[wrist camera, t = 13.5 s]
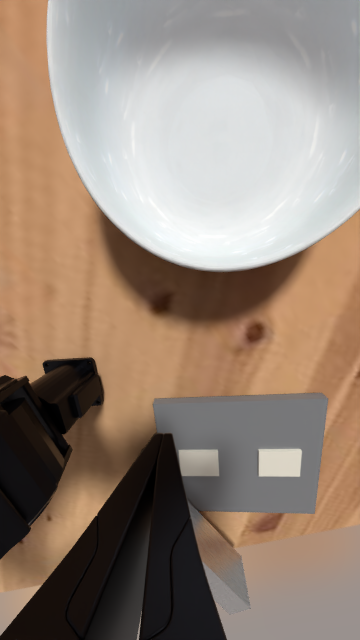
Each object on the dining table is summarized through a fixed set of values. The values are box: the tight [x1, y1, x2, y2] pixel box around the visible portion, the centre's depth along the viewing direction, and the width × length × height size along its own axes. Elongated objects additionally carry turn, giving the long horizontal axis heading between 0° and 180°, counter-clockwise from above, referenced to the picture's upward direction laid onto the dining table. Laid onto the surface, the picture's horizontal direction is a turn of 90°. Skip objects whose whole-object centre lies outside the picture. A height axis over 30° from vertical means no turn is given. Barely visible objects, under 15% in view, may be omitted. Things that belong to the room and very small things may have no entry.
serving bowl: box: [47, 0, 360, 272], centre depth 12 cm, size 21×21×7 cm
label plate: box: [140, 393, 328, 514], centre depth 22 cm, size 23×18×2 cm
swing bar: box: [132, 464, 250, 614], centre depth 21 cm, size 22×4×4 cm, turn 38°
